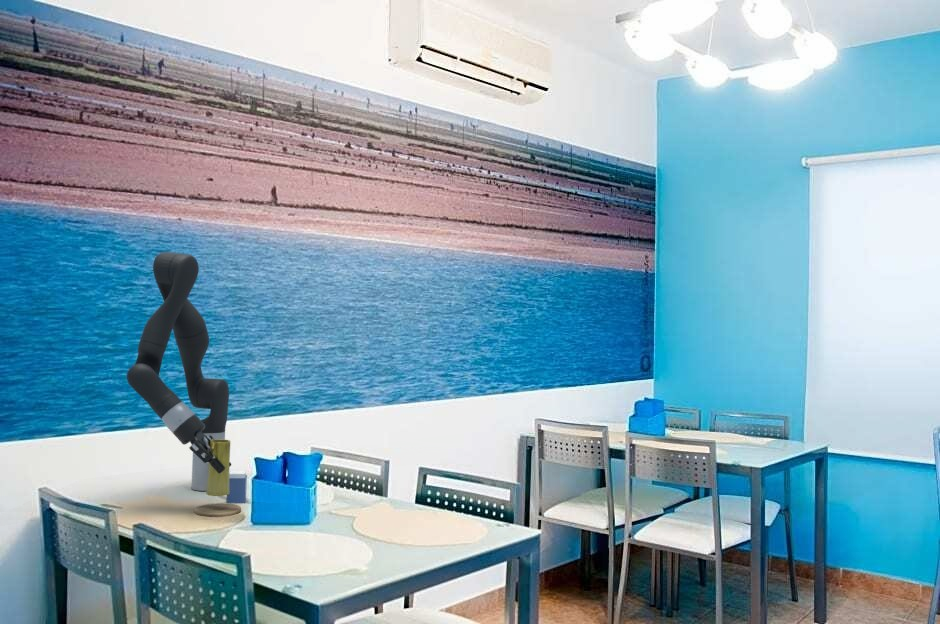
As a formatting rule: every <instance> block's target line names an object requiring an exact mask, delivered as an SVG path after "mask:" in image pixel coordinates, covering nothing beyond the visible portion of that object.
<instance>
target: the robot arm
mask: <svg viewBox="0 0 940 624" xmlns="http://www.w3.org/2000/svg"><path fill="white" fill-rule="evenodd" d="M199 268H200V267H199V262H198V260H197V258H196V257H195V256H194V255H191V254H187V253H179V252H168V251H165V252H160V253H158V254H157V255H156V256H155V258H154V260H153V263H152V271H153V272H152V273H153V276H154V279H155V282H156V285H157V287H158V290H159V293H160V294H161V297H162V300H163V303H162V304H161V305H160V306H159V307H158V308H157V309H156V310H155V312H154V313H153V314H151V316H150V317H149V319H148V320H147V322H146V323H145V325H144V327H143V330H142V334H141V336H140V340H139V343H138V346H137V357H136V360H135V364H134V365H132V366H130V367H129V369H128V371H127V373H126V380H127V383H128V385H129V386H130V387H131V388H132V389H133V390H134V391H135V392H136V393H137V394H138V395H139V396H140V397H141V398H142V399H143V400H144V401H146V403H147V404H148V405H149V407H150V408H151V410H152V411H153V412H154V413H155V414H156V415H157V416H158V417H159V419H161V421H162V422H163V424H164V425H165V427H167V429H168V430H169V431H170V432H171V433H172V434H173V435H174V437H176V438H177V439H178V441H179V442H180V443H181V444H182V445H187V444H188V443H190V444H191V445H190V446H189V447H188V448H189V451H191V452H192V460H191V461H192V467H191V470H192V471H191V487H190V488H191V490H193V491H201V492H206V490H207V480H208V470H209V464H210V465H211V466H212V467H213V468H214V469H215V470H216V471H217V472H218V473H221V472H222V471H224V470H225V466H224V465H223V464H222V463H221V462H220V461H219V460H218V459H217V458H216V456H215V455H214V453H213V449H212V447H211V446H210V441H211V440H217V439H223V440H226V425H227V421H228V412H229V403H230V402H229V400H230V387H229V384H228V382H227V381H226V380H225V379H223V378H207V377H206V378H205V377H204V375H203V371H202V362H203V360H204V358H205V355H206V353H207V351H208V349H209V345H210V336H209V332H208V328H207V325H206V324H207V323H206V322H205V319H204V317H203V316H202V315H201V313H200V312H199V310H198V309H197V308H196V307H195V306H194V305H193V304H192V302H191V301H190V299H189V295H190V294H191V292H192V290H193V287H194V286H195V283H196V282H197V279H198V277H199V276H198V275H199V271H200V269H199ZM172 333H173V335H174V341H175V343H176V346H177V348H178V349H177V350H178V352H179V356H180V360H181V363H182V369H183V371H184V378H185V379H184V380H185V384H186V385H185V386H186V389H187V395H188V399H189V401H190V404H191V405H192V406H193V408H196V409H201V410H202V409H204V410H210V411H209V415H208V416H207V417H205V418H203V419H200V418H199V417H198V416H197V414H196V413H195V412H194V411H193V410H192V409H191V408H190V407H189V406H188V405H187V404H186V403H184V401H183V400H181V398H180V397H178V395H177V394H176V393H175V392H174V391H173V390H172V389H171V388H169V387H168V386H167V385H166V383H165V382H164V381H163V380H162V379H161V377H160V372H161V368H162V362H163V358H164V355H165V352H166V349H167V346H168V343H169V341H170V337H171V334H172ZM215 458H216V459H215ZM231 466H232V463H231V461H229V468H231Z"/></svg>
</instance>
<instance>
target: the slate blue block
mask: <svg viewBox="0 0 940 624" xmlns="http://www.w3.org/2000/svg"><path fill="white" fill-rule="evenodd" d="M247 482H248V475H247V471H245V470H229V492H230V493H229V494H228V495H226V503H225V504H245V503H246V501H247V489H248V488H247V485H248V483H247Z"/></svg>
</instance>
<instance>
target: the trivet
mask: <svg viewBox="0 0 940 624" xmlns="http://www.w3.org/2000/svg"><path fill="white" fill-rule="evenodd" d="M241 512H242V507H241V505H239V504H236V503H223V502H222V503H220V502H219V503H207V504H201V505H198V506H196V507H195V508H194V513H195V514H196V515H198V516H203V517H213V518H214V517H228V516H234V515H237V514H240V513H241Z"/></svg>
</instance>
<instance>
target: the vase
mask: <svg viewBox="0 0 940 624" xmlns="http://www.w3.org/2000/svg"><path fill="white" fill-rule="evenodd" d="M210 446H211V447H212V449H213V453H214V455H215V456H216V458H217V459H218V460H219V461H220V462H221V463H222V464H223V465H224V466H225V470H224V471H222V472H221V473H218V472H217V471H216V470H215V469H214V468H213V467H212V466H211V465H210V464H209V470H208V480H207V490H206V491H205V494H206V495H207V496H212V497H213V496H214V497H221V496H227V495H228V494H229V493H230V492H229V472H230V467H229V462H231V461H230V458H231V457H230V456H231V440H230V439H225V440H223V439H217V440H211V441H210ZM216 458H215V459H216Z"/></svg>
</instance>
